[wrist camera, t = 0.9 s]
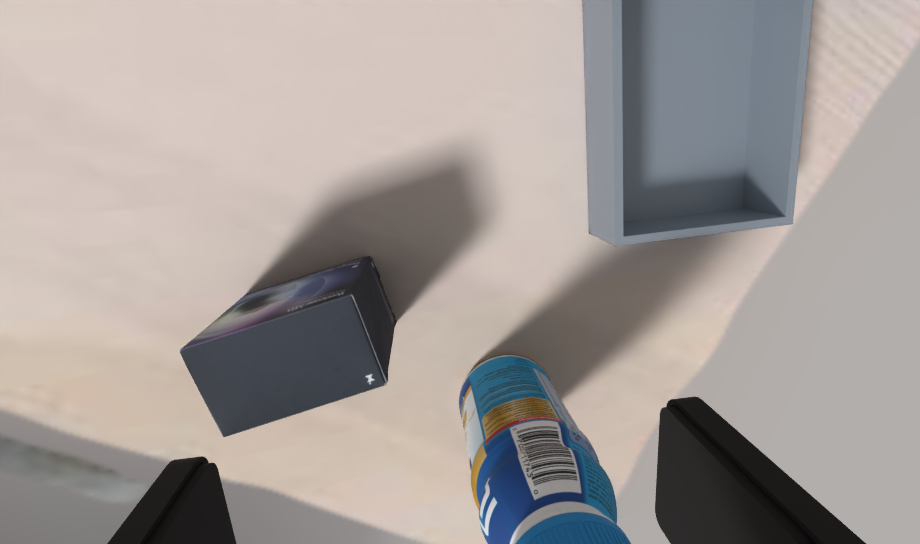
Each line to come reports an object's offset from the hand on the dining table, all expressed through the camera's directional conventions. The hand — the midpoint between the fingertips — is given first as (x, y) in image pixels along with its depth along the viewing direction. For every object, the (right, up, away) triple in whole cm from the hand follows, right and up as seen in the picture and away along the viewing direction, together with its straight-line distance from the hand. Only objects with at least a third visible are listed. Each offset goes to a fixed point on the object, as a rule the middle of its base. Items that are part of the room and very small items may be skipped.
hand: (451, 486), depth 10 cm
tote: (+16, +18, +25) cm, 35 cm away
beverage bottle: (+4, -6, +31) cm, 32 cm away
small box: (-11, +2, +27) cm, 29 cm away
